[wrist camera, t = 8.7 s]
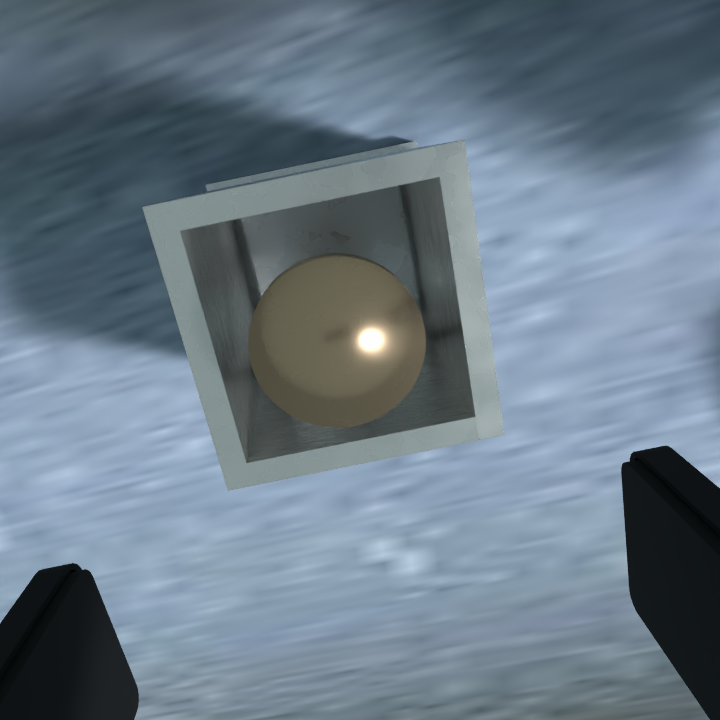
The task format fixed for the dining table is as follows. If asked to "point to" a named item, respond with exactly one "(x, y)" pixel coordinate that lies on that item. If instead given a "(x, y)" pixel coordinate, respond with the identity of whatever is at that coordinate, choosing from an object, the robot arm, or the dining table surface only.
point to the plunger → (334, 309)
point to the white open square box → (242, 294)
